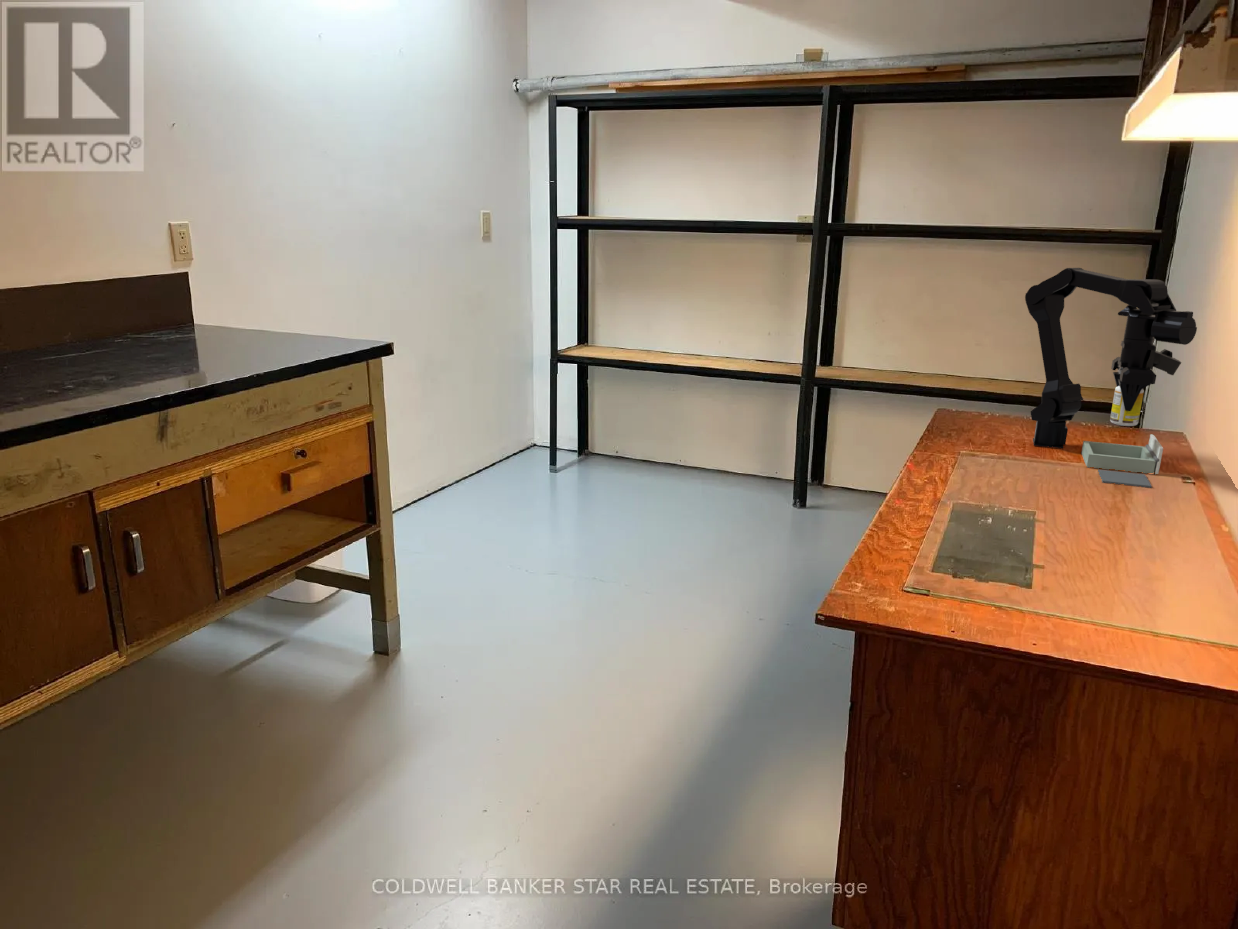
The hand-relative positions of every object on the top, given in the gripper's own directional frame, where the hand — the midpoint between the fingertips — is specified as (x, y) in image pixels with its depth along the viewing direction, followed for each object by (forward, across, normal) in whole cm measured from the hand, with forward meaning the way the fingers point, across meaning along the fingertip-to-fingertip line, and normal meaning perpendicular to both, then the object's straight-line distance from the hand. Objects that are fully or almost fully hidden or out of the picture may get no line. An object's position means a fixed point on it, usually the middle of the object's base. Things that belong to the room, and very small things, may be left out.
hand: (1126, 408), depth 191 cm
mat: (+13, -13, 0) cm, 18 cm away
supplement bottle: (+4, 0, 0) cm, 4 cm away
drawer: (+13, 0, 0) cm, 13 cm away
